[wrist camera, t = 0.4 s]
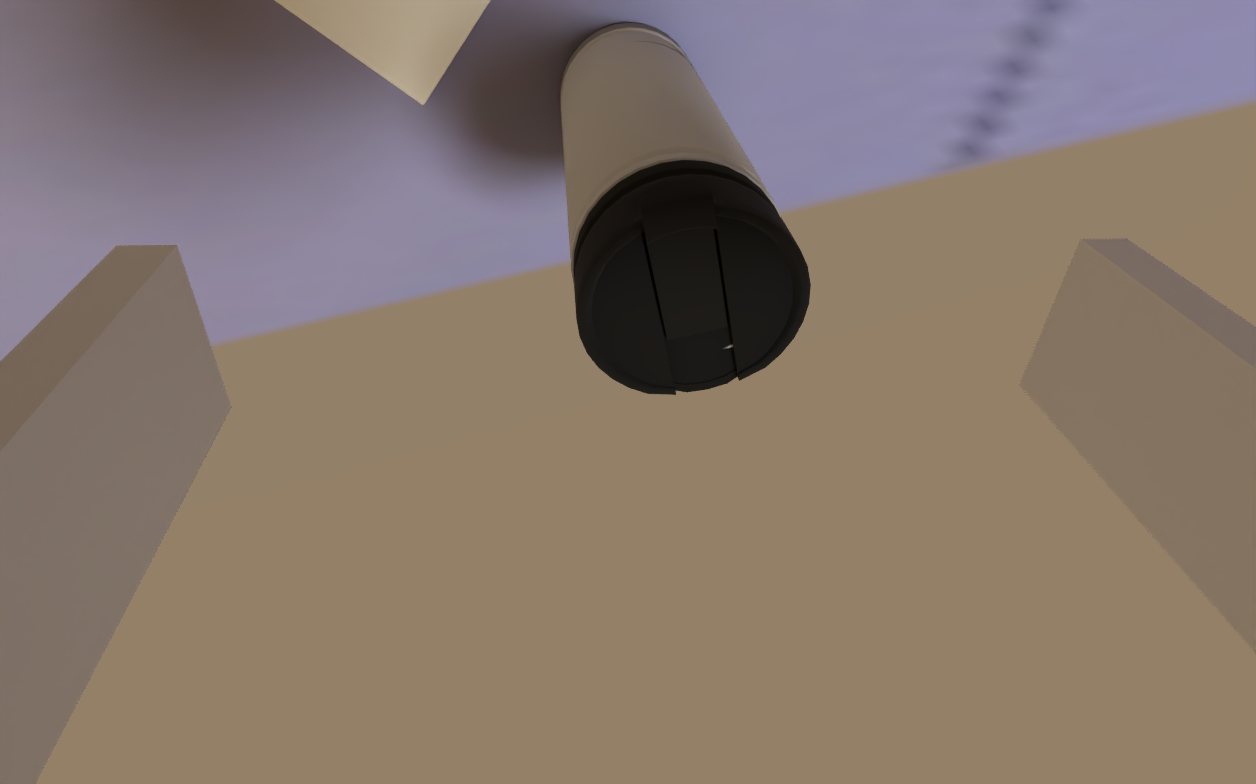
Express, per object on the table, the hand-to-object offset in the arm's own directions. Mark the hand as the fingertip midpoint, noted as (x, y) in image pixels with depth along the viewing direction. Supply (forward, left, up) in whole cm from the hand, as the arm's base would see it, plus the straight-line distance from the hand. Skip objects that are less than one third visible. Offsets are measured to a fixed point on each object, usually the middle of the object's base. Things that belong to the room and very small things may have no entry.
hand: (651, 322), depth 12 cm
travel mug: (+2, +4, -27) cm, 27 cm away
